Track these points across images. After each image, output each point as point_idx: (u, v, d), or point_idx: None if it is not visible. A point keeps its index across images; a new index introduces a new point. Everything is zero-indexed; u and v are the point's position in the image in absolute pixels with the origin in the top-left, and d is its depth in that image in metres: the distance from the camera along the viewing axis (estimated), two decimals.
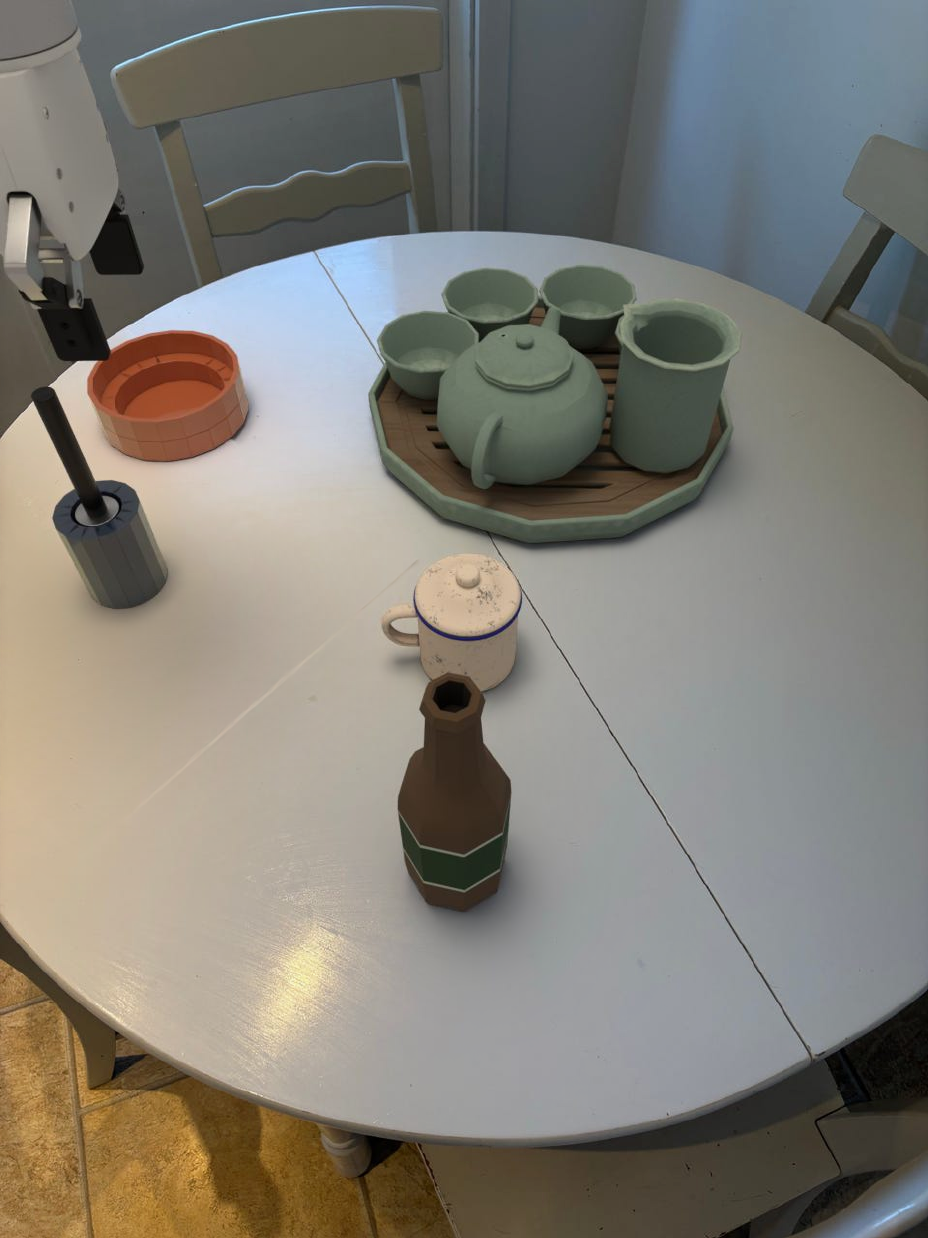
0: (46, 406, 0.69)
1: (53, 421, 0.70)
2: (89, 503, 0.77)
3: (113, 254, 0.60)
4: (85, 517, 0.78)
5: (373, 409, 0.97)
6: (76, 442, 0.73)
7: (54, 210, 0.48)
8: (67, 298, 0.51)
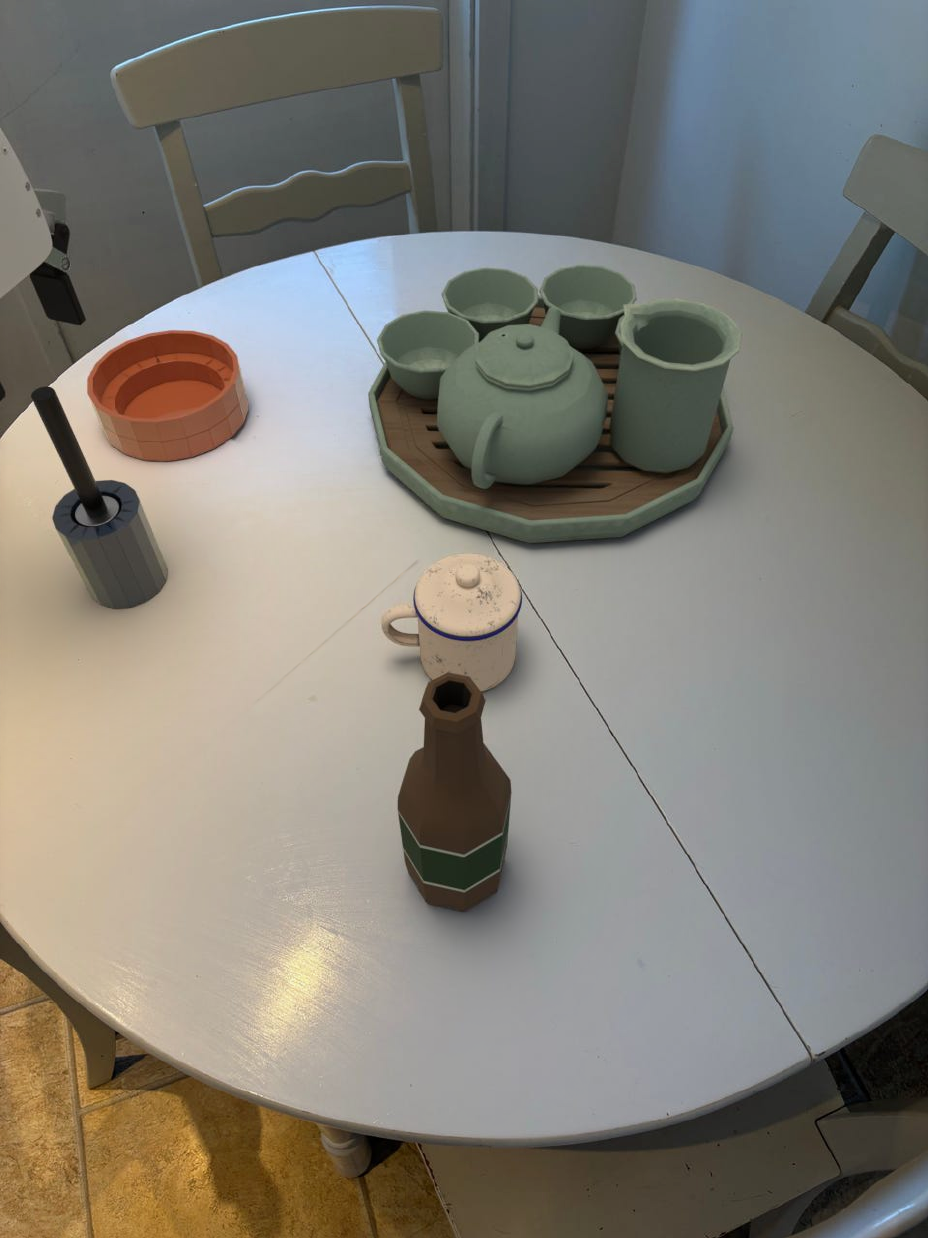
0: (46, 406, 0.69)
1: (53, 421, 0.70)
2: (89, 503, 0.77)
3: (57, 305, 0.67)
4: (85, 517, 0.78)
5: (373, 409, 0.97)
6: (76, 442, 0.73)
7: None
8: None
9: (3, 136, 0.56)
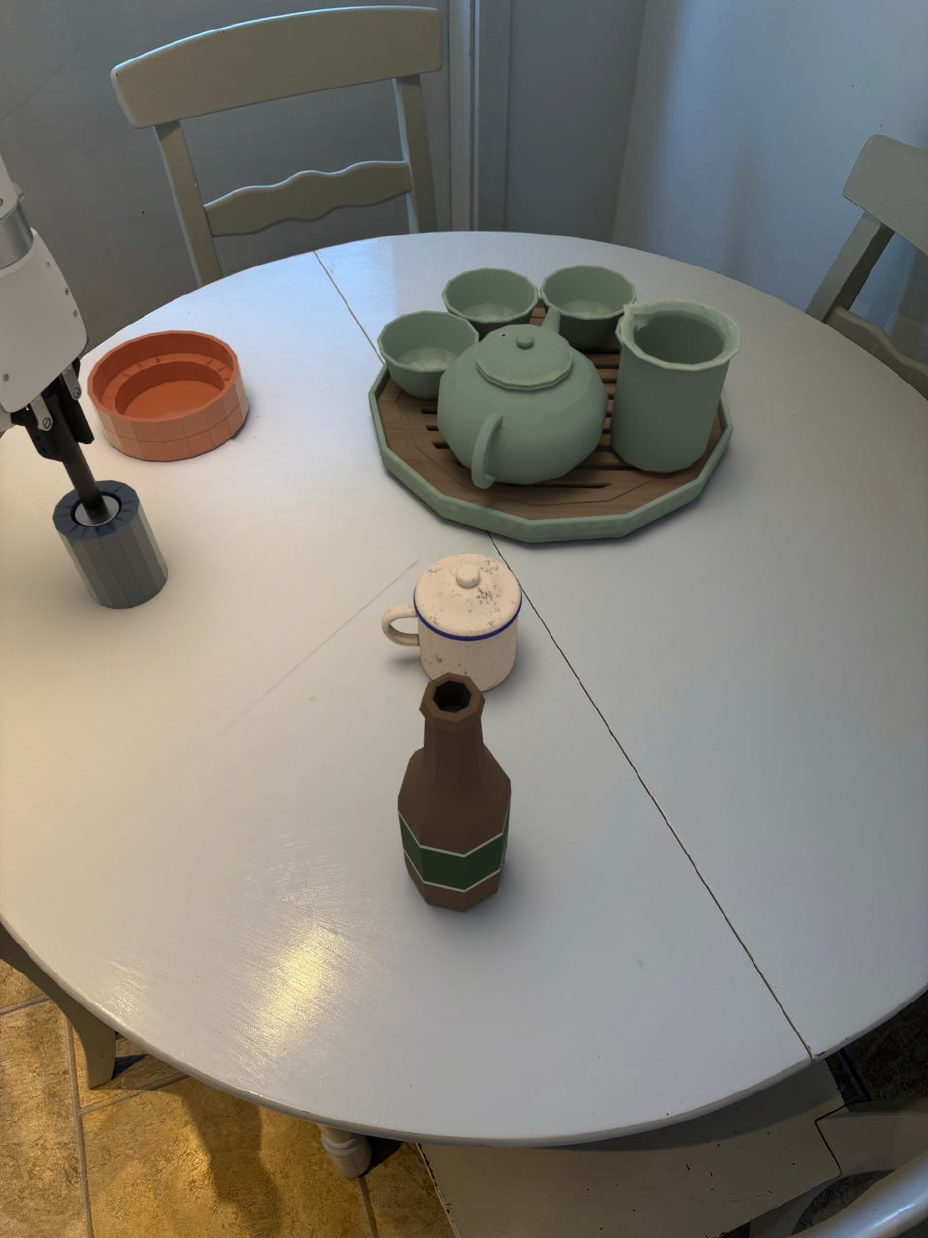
0: (46, 406, 0.69)
1: None
2: (89, 503, 0.77)
3: None
4: (85, 517, 0.78)
5: (373, 409, 0.97)
6: (76, 442, 0.73)
7: None
8: (36, 422, 0.68)
9: (46, 250, 0.63)
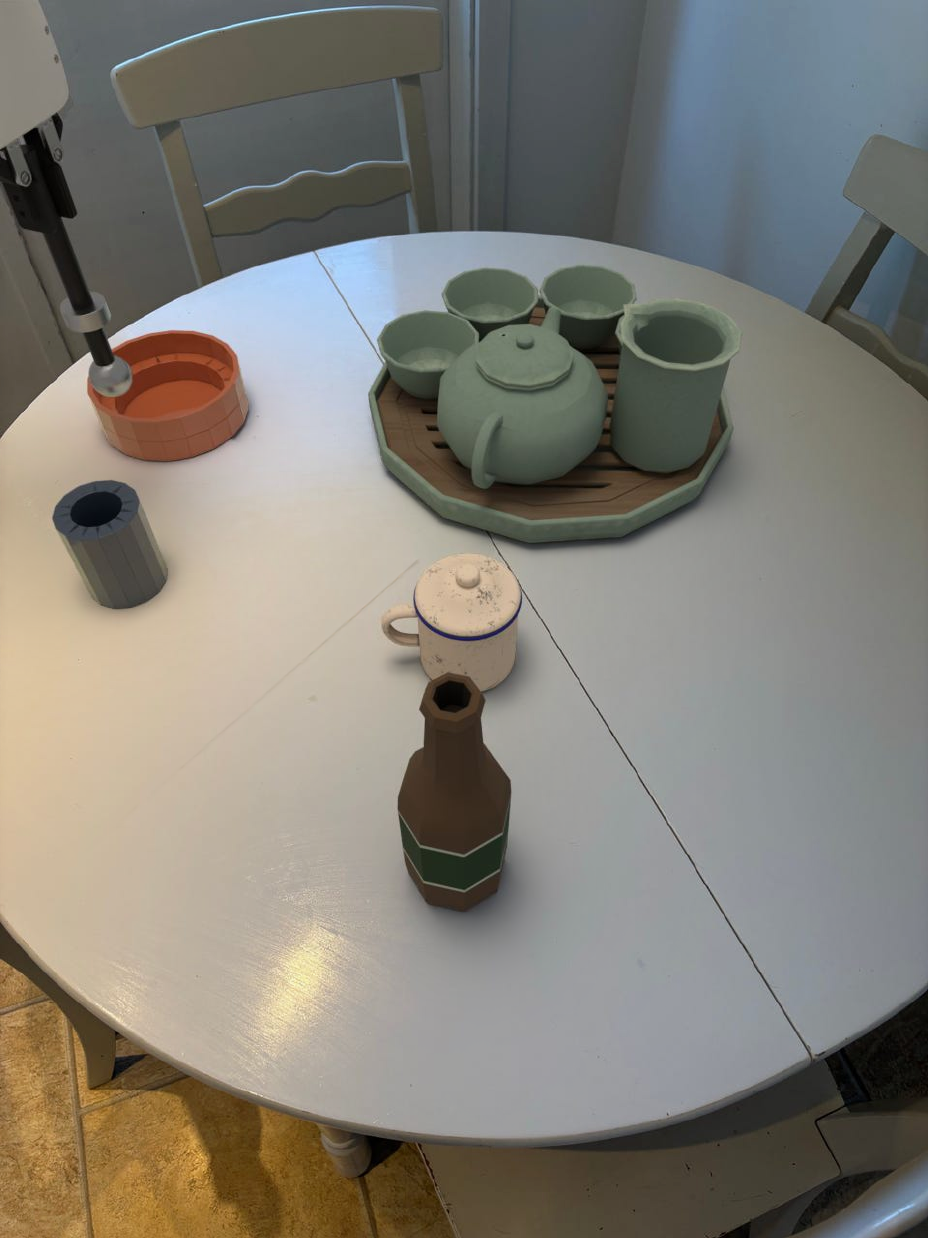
0: None
1: None
2: (73, 290, 0.74)
3: None
4: (70, 308, 0.75)
5: (373, 409, 0.97)
6: (58, 214, 0.70)
7: None
8: (14, 175, 0.65)
9: None
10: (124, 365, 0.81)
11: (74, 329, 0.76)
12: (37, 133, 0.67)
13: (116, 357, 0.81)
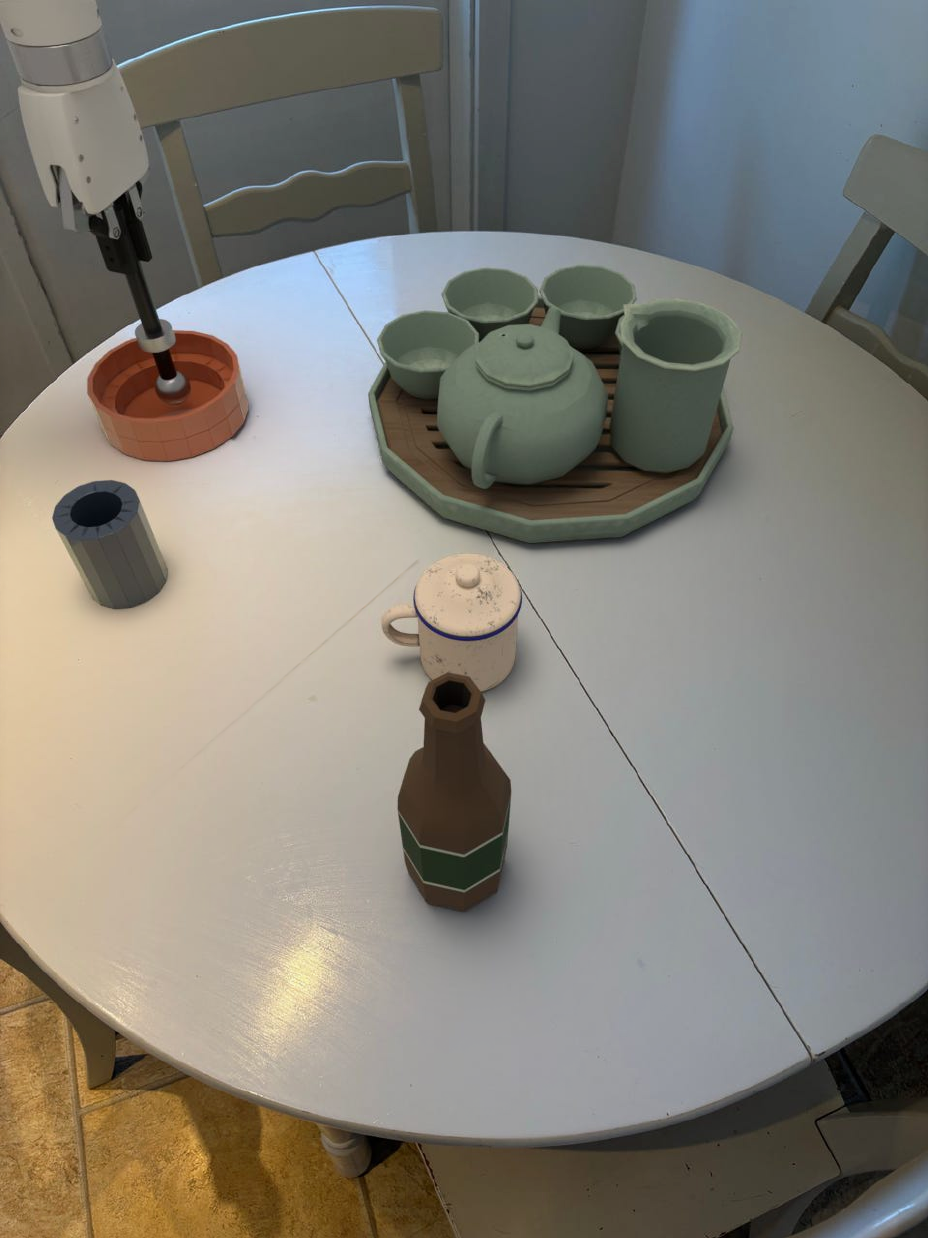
0: None
1: None
2: (147, 319, 0.90)
3: None
4: (143, 333, 0.92)
5: (373, 409, 0.97)
6: (138, 258, 0.86)
7: (75, 180, 0.75)
8: (108, 231, 0.81)
9: (121, 77, 0.76)
10: (184, 378, 0.97)
11: (147, 350, 0.92)
12: (123, 195, 0.84)
13: (178, 372, 0.97)
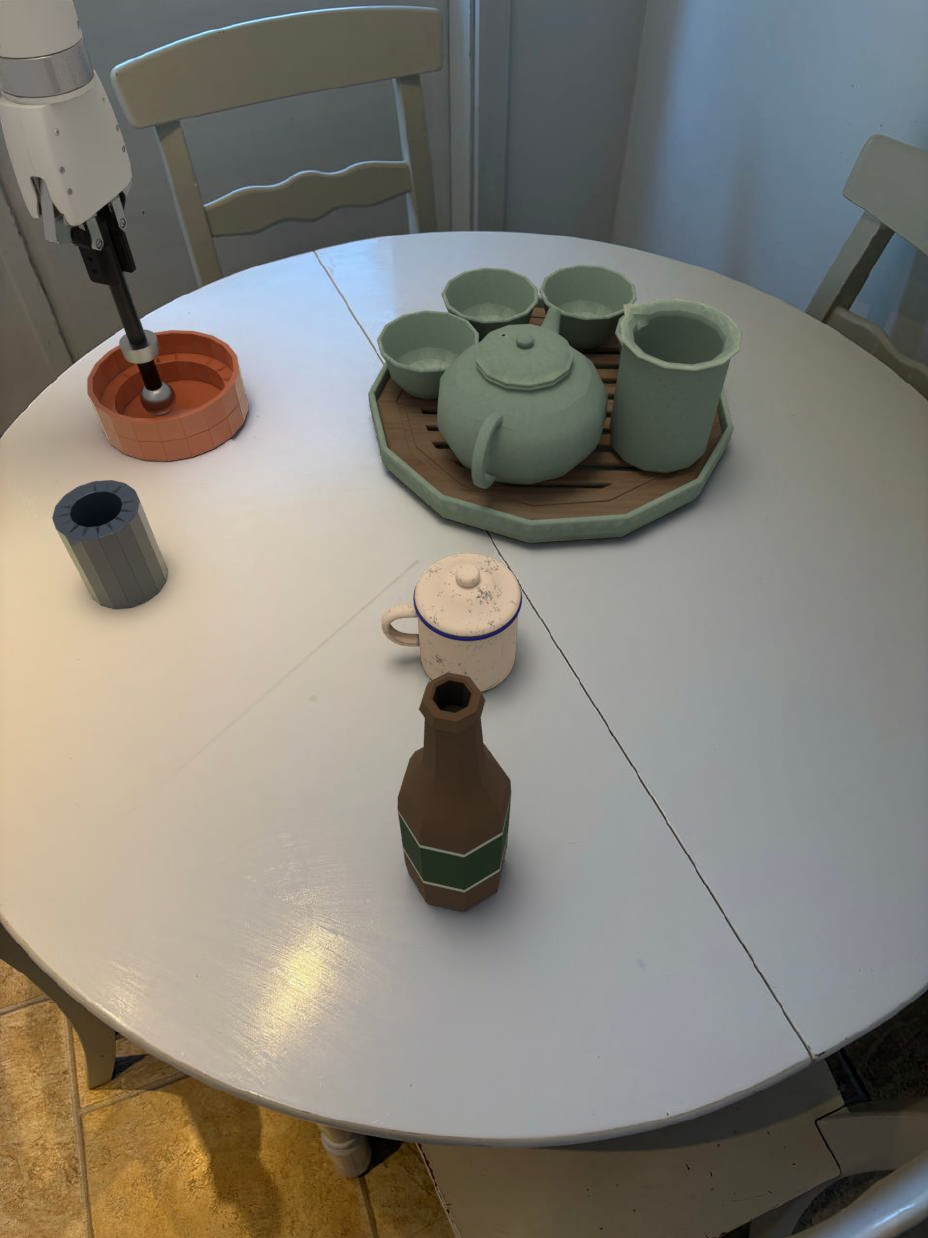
0: None
1: None
2: (131, 330, 0.90)
3: None
4: (128, 344, 0.91)
5: (373, 409, 0.97)
6: (122, 269, 0.86)
7: (56, 192, 0.75)
8: (90, 242, 0.81)
9: (102, 88, 0.76)
10: (170, 389, 0.97)
11: (131, 361, 0.92)
12: (106, 206, 0.83)
13: (163, 382, 0.97)
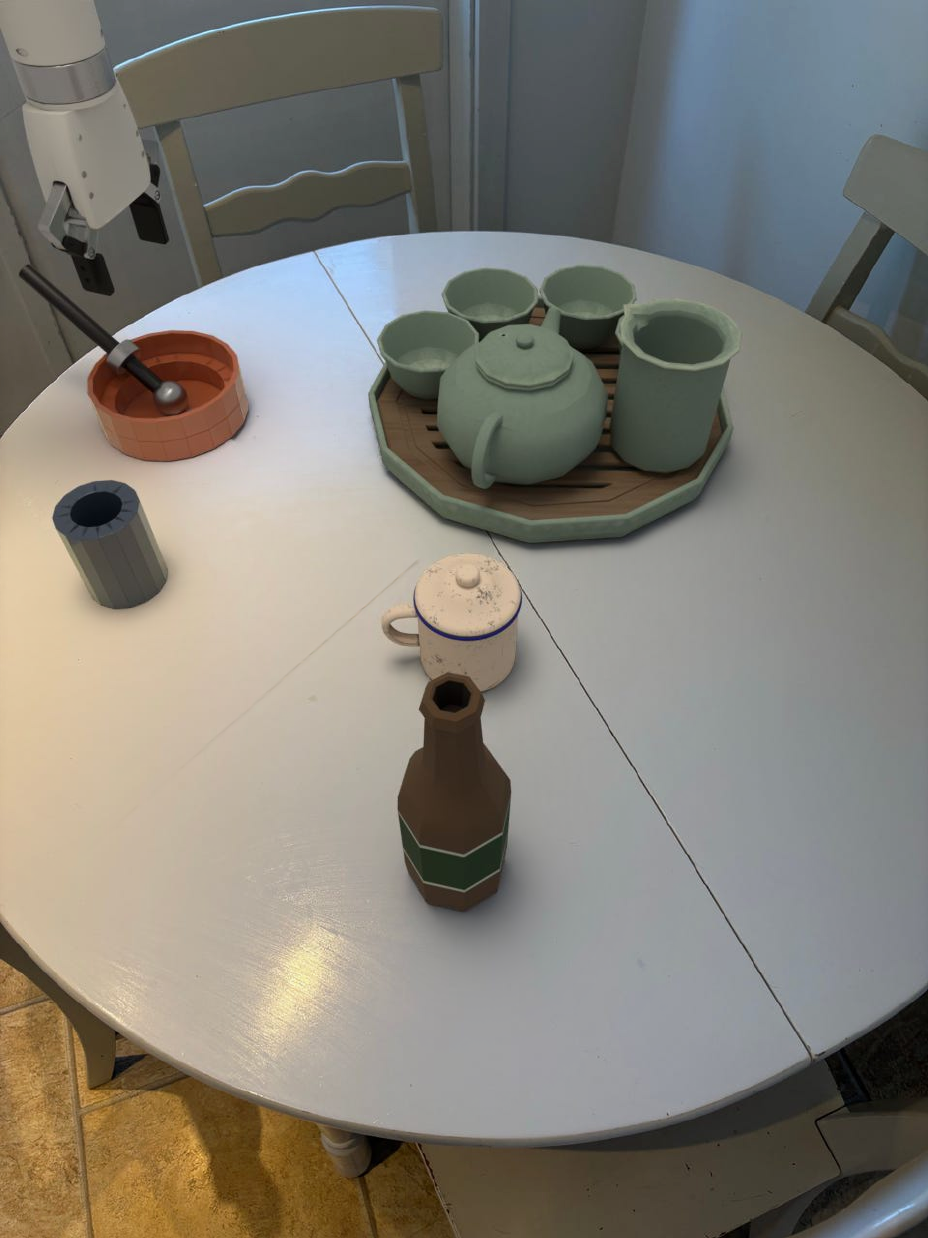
0: (25, 273, 0.96)
1: (36, 282, 0.96)
2: (102, 341, 0.98)
3: (148, 228, 0.88)
4: None
5: (373, 409, 0.97)
6: (65, 296, 0.97)
7: (78, 196, 0.76)
8: (83, 251, 0.79)
9: (123, 94, 0.78)
10: (170, 381, 0.99)
11: (116, 368, 0.98)
12: None
13: None
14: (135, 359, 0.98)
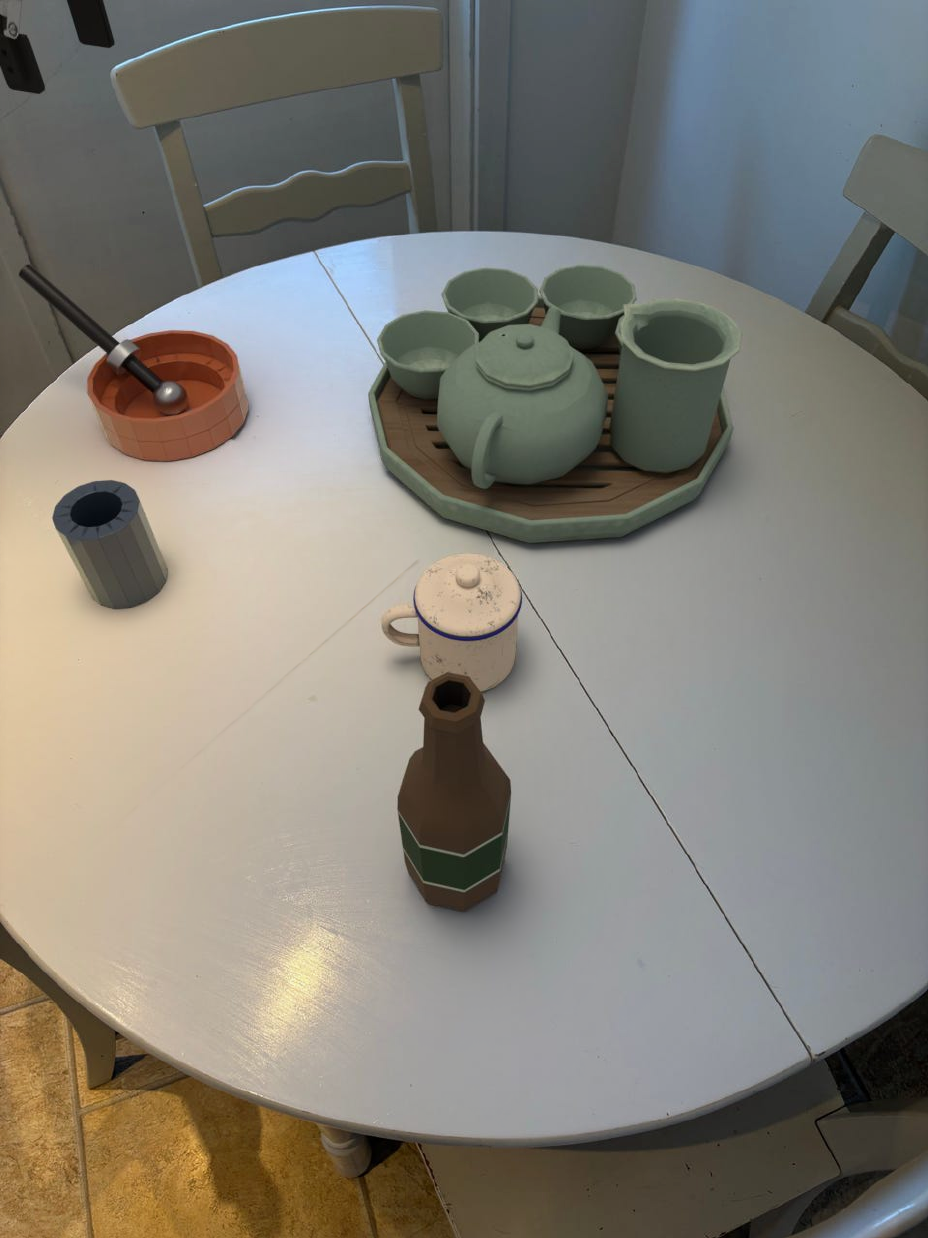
0: (25, 273, 0.96)
1: (36, 282, 0.96)
2: (102, 341, 0.98)
3: (89, 25, 0.74)
4: None
5: (373, 409, 0.97)
6: (65, 296, 0.97)
7: None
8: (2, 26, 0.66)
9: None
10: (170, 381, 0.99)
11: (116, 368, 0.98)
12: None
13: None
14: (135, 359, 0.98)
